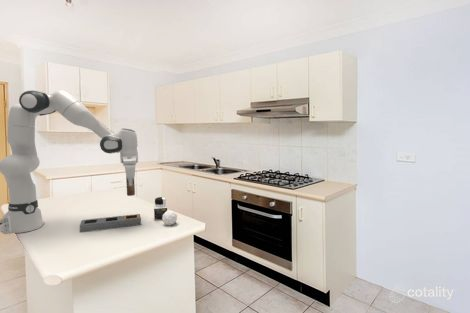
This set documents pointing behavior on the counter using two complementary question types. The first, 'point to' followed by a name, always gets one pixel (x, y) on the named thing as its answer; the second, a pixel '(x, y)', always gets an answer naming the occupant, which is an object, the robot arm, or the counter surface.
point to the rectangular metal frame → (110, 222)
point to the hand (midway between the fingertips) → (130, 184)
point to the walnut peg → (130, 188)
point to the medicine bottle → (159, 208)
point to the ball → (169, 217)
